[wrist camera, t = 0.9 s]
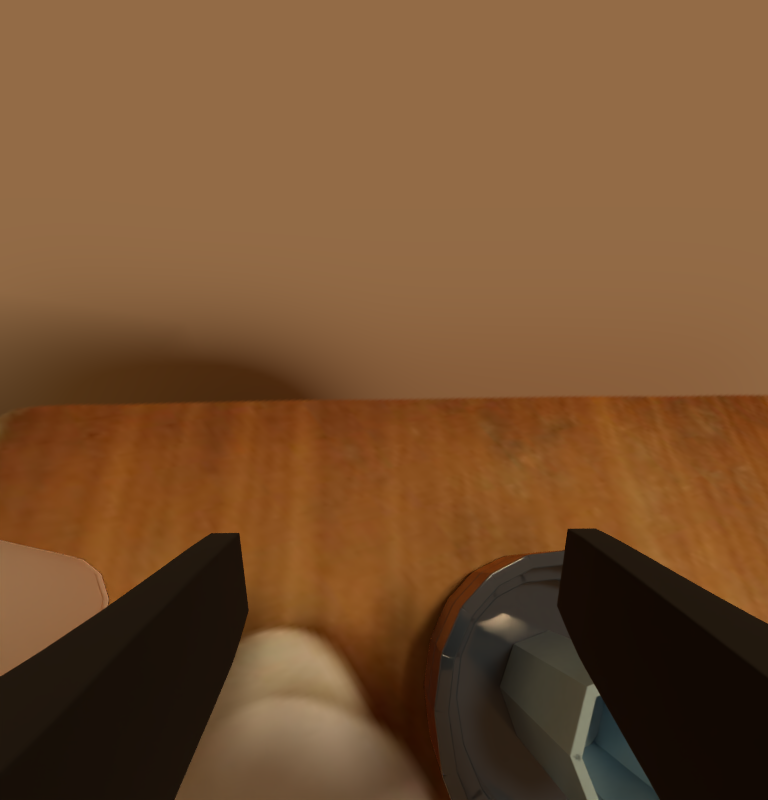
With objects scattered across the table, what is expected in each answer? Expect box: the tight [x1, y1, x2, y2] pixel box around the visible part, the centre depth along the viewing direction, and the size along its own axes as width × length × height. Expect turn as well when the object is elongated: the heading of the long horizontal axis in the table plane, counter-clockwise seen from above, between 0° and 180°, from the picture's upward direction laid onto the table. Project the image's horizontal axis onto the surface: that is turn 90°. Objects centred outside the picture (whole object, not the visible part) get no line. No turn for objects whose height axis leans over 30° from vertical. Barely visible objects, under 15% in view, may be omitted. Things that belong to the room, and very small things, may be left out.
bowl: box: [424, 550, 571, 800], centre depth 16 cm, size 12×12×4 cm
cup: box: [500, 631, 660, 800], centre depth 14 cm, size 5×5×7 cm
